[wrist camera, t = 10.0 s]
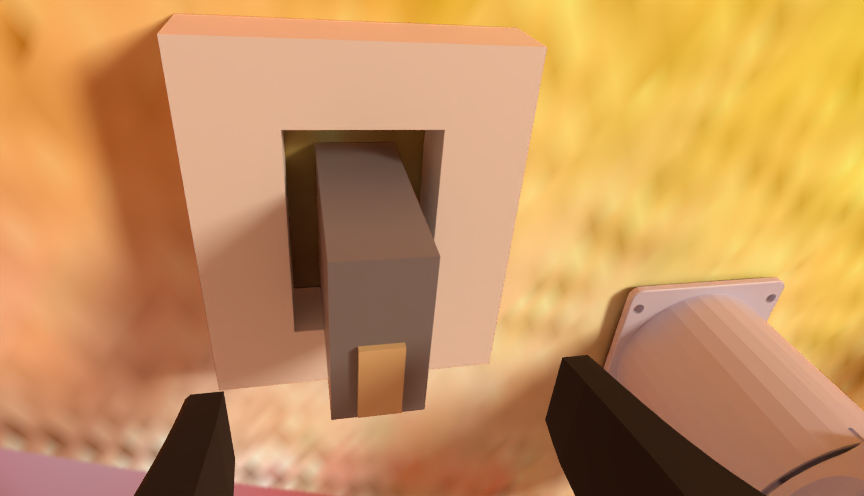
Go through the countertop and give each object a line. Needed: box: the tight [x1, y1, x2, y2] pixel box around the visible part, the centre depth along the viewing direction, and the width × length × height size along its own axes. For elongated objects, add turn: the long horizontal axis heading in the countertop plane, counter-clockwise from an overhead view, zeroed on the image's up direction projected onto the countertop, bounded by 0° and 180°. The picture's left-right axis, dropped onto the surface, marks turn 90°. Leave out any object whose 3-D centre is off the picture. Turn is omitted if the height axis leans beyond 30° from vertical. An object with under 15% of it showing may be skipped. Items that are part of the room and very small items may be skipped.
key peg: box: [315, 142, 440, 420], centre depth 17 cm, size 3×5×7 cm, turn 176°
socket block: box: [157, 13, 547, 390], centre depth 19 cm, size 12×10×2 cm
